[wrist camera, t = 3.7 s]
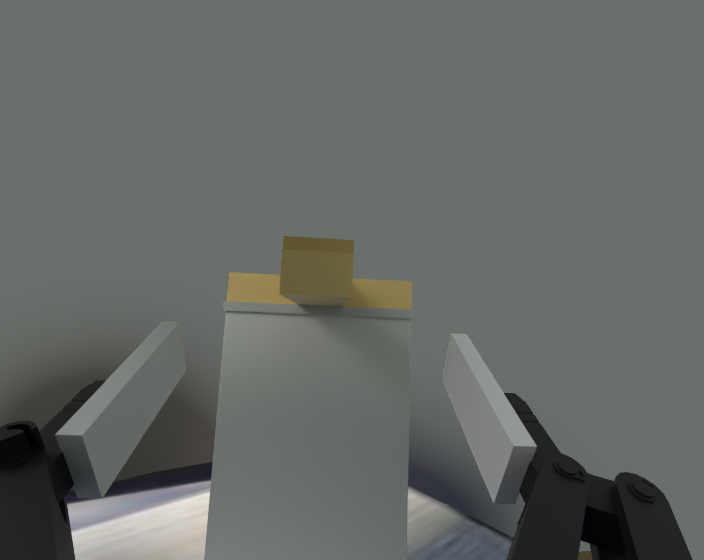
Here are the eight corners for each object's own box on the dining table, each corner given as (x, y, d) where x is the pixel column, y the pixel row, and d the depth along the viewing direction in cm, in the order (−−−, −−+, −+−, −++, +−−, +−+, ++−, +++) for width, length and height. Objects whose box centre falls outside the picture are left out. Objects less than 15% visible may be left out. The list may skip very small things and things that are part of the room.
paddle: (457, 302, 19) (457, 245, 20) (166, 288, 18) (173, 229, 19) (383, 314, 46) (383, 289, 47) (262, 308, 45) (264, 283, 46)
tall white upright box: (406, 700, 26) (414, 309, 30) (187, 705, 25) (223, 300, 29) (377, 556, 43) (384, 314, 46) (243, 556, 42) (261, 308, 45)
